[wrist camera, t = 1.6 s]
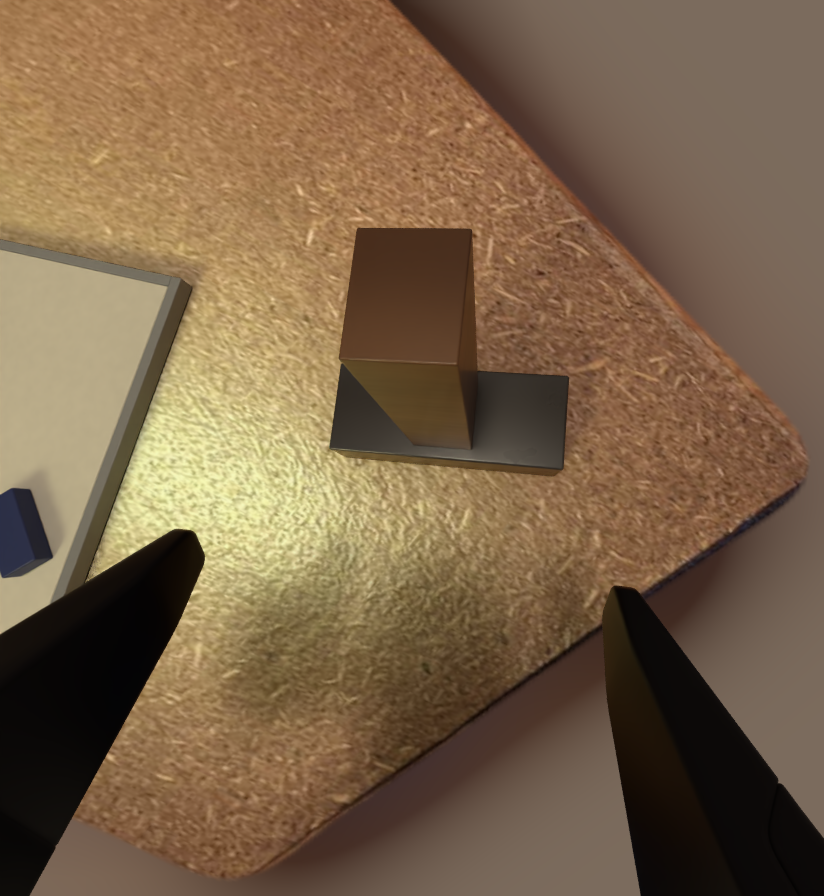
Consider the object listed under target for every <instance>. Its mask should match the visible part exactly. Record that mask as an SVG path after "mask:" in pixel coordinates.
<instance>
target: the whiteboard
mask: <svg viewBox="0 0 824 896" xmlns="http://www.w3.org/2000/svg"><path fill="white" fill-rule="evenodd" d="M191 289H192V287H191V286H190V285H189V284H187V283H186V282H185V281H184V280H182V279H181V278H177V277H172V276H168V275H163V274H158V273H154V272H149V271H145V270H140V269H135V268H131V267H126V266H121V265H117V264H112V263H108V262H103V261H98V260H94V259H89V258H84V257H80V256H75V255H71V254H66V253H61V252H57V251H52V250H47V249H43V248H38V247H33V246H29V245H24V244H20V243H15V242H10V241H6V240H1V239H0V494H2V493H4V492H5V491H7V490H9V489H10V488H23V489H30V491H31V494H32V497H33V500H34V502H35V505H36V508H37V511H38V514H39V517H40V520H41V523H42V526H43V529H44V532H45V535H46V538H47V541H48V544H49V547H50V550H51V553H52V556H53V558H52V559H50V560H48V561H47V562H45V563H43V564H41V565H40V566H38V567H36V568H35V569H33V570H31V571H29V572H28V573H26V574H24V575H23V576H20V577H11V578H2V577H1V573H0V634H1V633H3V632H4V631H6V630H8V629H9V628H11V627H13V626H14V625H16V624H18V623H19V622H21V621H23V620H24V619H26V618H28V617H29V616H31V615H33V614H34V613H36V612H38V611H39V610H41V609H42V608H44V607H46V606H47V605H49V604H51V603H52V602H54V601H56V600H57V599H59V598H61V597H62V596H64V595H66V594H67V593H69V592H71V591H72V590H74V589H76V588H77V587H79V586H81V585H82V584H84V581H85V579H86V576H87V573H88V570H89V568H90V565H91V562H92V559H93V557H94V554H95V551H96V549H97V546H98V543H99V540H100V538H101V535H102V532H103V529H104V527H105V524H106V521H107V518H108V516H109V513H110V510H111V508H112V505H113V502H114V499H115V497H116V494H117V491H118V488H119V486H120V483H121V480H122V478H123V475H124V472H125V469H126V467H127V464H128V461H129V458H130V456H131V453H132V450H133V447H134V445H135V442H136V439H137V437H138V434H139V431H140V428H141V426H142V423H143V420H144V417H145V415H146V412H147V409H148V407H149V404H150V401H151V398H152V396H153V393H154V390H155V387H156V385H157V382H158V379H159V376H160V374H161V371H162V368H163V366H164V363H165V360H166V357H167V355H168V352H169V349H170V346H171V344H172V341H173V338H174V336H175V333H176V330H177V327H178V325H179V322H180V319H181V316H182V314H183V311H184V308H185V305H186V303H187V300H188V297H189V295H190V292H191Z"/></svg>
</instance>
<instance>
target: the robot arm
mask: <svg viewBox="0 0 824 896" xmlns="http://www.w3.org/2000/svg"><path fill="white" fill-rule="evenodd" d="M204 561H205V554H204V552H203V549H202V547H201V545H200V542H199V540H198V538H197V536H196V534H195V532H193V531H191V530H185V529H174V530H172V531H170V532H168V533H167V534H165V535H163V536H162V537H160V538H158V539H157V540H155V541H154V542H152V543H150V544H149V545H147V546H145V547H144V548H142V549H140V550H139V551H137V552H135V553H134V554H132V555H130V556H129V557H127V558H125V559H124V560H122V561H120V562H119V563H117V564H115V565H114V566H112V567H110V568H109V569H107V570H105V571H104V572H102V573H100V574H99V575H97V576H96V577H94V578H92V579H91V580H89V581H87V582H86V583H84V584H82V585H81V586H79V587H77V588H76V589H74V590H72V591H71V592H69V593H67V594H66V595H64V596H62V597H61V598H59V599H57V600H56V601H54V602H52V603H51V604H49V605H47V606H46V607H44V608H42V609H41V610H39V611H38V612H36V613H34V614H33V615H31V616H29V617H28V618H26V619H24V620H23V621H21V622H19V623H18V624H16V625H14V626H13V627H11V628H9V629H8V630H6V631H4V632H3V633H1V634H0V896H30V893H31V892H32V890H33V888H34V886H35V885H36V883H37V881H38V879H39V877H40V876H41V874H42V872H43V870H44V868H45V867H46V865H47V863H48V861H49V859H50V857H51V855H52V854H53V852H54V850H55V846H56V845H57V844H58V842H59V840H60V839H61V837H62V835H63V833H64V831H65V830H66V828H67V826H68V824H69V822H70V820H71V819H72V817H73V815H74V813H75V811H76V810H77V808H78V806H79V804H80V802H81V800H82V799H83V797H84V795H85V793H86V791H87V790H88V788H89V786H90V784H91V782H92V780H93V779H94V777H95V775H96V773H97V771H98V770H99V768H100V766H101V764H102V762H103V760H104V759H105V757H106V755H107V753H108V751H109V750H110V748H111V746H112V744H113V742H114V740H115V739H116V737H117V735H118V733H119V731H120V730H121V728H122V726H123V724H124V722H125V720H126V719H127V717H128V715H129V713H130V711H131V710H132V708H133V706H134V704H135V702H136V700H137V699H138V697H139V695H140V693H141V691H142V690H143V688H144V686H145V684H146V682H147V680H148V679H149V677H150V675H151V673H152V671H153V670H154V668H155V666H156V664H157V662H158V660H159V659H160V657H161V655H162V653H163V651H164V650H165V648H166V646H167V644H168V642H169V640H170V639H171V637H172V635H173V633H174V631H175V629H176V627H177V625H178V623H179V621H180V619H181V617H182V614H183V612H184V610H185V607H186V605H187V603H188V600H189V598H190V596H191V593H192V591H193V589H194V586H195V584H196V582H197V579H198V577H199V575H200V572H201V570H202V568H203V565H204ZM602 626H603V642H604V658H605V677H606V692H607V702H608V709H609V716H610V721H611V727H612V732H613V739H614V744H615V750H616V756H617V761H618V767H619V773H620V779H621V785H622V790H623V796H624V802H625V808H626V813H627V819H628V824H629V831H630V836H631V842H632V848H633V854H634V859H635V865H636V870H637V877H638V882H639V888H640V894H641V896H824V838H823V837H822V835H821V834H820V833H819V832H818V830H817V829H816V828H815V826H814V825H813V824H812V823H811V821H810V820H809V819H808V817H807V816H806V815H805V813H804V812H803V811H802V810H801V808H800V807H799V806H798V804H797V803H796V802H795V800H794V799H793V798H792V796H791V795H790V794H789V792H788V791H787V790H786V788H785V787H784V786H783V785H782V784H780V783H778V778H777V776H776V775H775V774H774V772H773V771H772V770H771V768H770V767H769V766H768V764H767V763H766V762H765V761H764V759H763V758H762V756H761V755H760V754H759V752H758V751H757V750H756V748H755V747H754V746H753V744H752V743H751V742H750V740H749V739H748V738H747V736H746V735H745V734H744V732H743V731H742V730H741V728H740V727H739V726H738V724H737V723H736V722H735V720H734V719H733V718H732V716H731V715H730V714H729V712H728V711H727V710H726V708H725V707H724V706H723V704H722V703H721V702H720V700H719V699H718V698H717V696H716V695H715V694H714V692H713V691H712V689H711V688H710V687H709V685H708V684H707V683H706V682H705V680H704V679H703V677H702V676H701V675H700V673H699V672H698V671H697V670H696V668H695V667H694V666H693V664H692V663H691V661H690V660H689V659H688V657H687V656H686V655H685V653H684V652H683V651H682V650H681V648H680V647H679V645H678V644H677V643H676V641H675V640H674V639H673V638H672V636H671V635H670V633H669V632H668V631H667V629H666V628H665V627H664V626H663V624H662V623H661V621H660V620H659V619H658V617H657V616H656V615H655V613H654V612H653V611H652V610H651V608H650V607H649V605H648V604H647V603H646V601H645V600H644V599H643V597H642V596H641V595H640V593H639V592H638V591H637V590H636V589H634V588H631V587H624V586H613V587H612V588H611V590H610V593H609V596H608V598H607V601H606V604H605V607H604V610H603V616H602Z"/></svg>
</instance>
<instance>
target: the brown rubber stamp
mask: <svg viewBox="0 0 824 896" xmlns="http://www.w3.org/2000/svg"><path fill="white" fill-rule="evenodd" d="M339 360H340V361H341V362H342V364H341V368H340V375H339V382H338V389H337V397H336V404H335V411H334V418H333V425H332V433H331V440H330V449H331V450H333V451H335V452H337V453H339V454H341V455H343V456H345V457H350V458H361V459H371V460H382V461H393V462H404V463H415V464H426V465H437V466H448V467H458V468H469V469H480V470H491V471H502V472H513V473H524V474H535V475H545V476H554V475H556V474H557V473H559V472H560V471H562V470H563V468H564V452H565V436H566V420H567V404H568V388H569V377H568V376H559V375H541V374H523V373H506V372H488V371H478V369H477V343H476V318H475V292H474V267H473V241H472V230H471V229H437V228H358V229H357V232H356V239H355V246H354V253H353V260H352V267H351V275H350V282H349V289H348V296H347V303H346V310H345V318H344V325H343V332H342V339H341V346H340V353H339Z"/></svg>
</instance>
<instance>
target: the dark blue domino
mask: <svg viewBox="0 0 824 896" xmlns="http://www.w3.org/2000/svg"><path fill="white" fill-rule="evenodd" d="M52 558H53V556H52V553H51V550H50V547H49V544H48V541H47V538H46V535H45V532H44V529H43V526H42V523H41V520H40V517H39V514H38V511H37V508H36V505H35V502H34V500H33V497H32V494H31V491H30V489H23V488H10V489H9V490H7V491H5V492H4V493H2V494H0V573H1V577H2V578H11V577H20V576H23V575H24V574H26V573H28V572H29V571H31V570H33V569H35V568H36V567H38V566H40V565H41V564H43V563H45V562H47V561H48V560H50V559H52Z"/></svg>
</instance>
